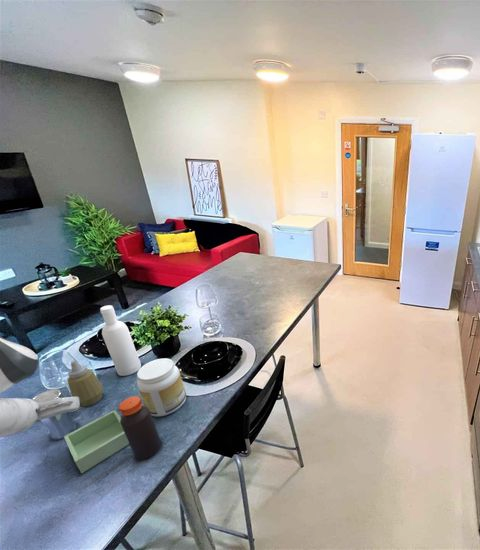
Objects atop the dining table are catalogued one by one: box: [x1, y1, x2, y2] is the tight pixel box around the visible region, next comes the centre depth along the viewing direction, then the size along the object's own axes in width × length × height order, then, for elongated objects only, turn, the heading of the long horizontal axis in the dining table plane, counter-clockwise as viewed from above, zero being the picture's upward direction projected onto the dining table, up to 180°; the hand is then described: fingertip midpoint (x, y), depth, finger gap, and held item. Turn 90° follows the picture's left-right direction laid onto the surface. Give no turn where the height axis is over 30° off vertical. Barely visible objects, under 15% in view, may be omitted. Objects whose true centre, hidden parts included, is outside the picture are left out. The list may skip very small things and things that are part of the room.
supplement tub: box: [136, 357, 187, 417], centre depth 102 cm, size 12×12×17 cm
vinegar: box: [118, 395, 162, 461], centre depth 86 cm, size 7×7×20 cm
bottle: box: [99, 304, 142, 377], centre depth 114 cm, size 8×8×30 cm
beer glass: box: [31, 389, 78, 441], centre depth 91 cm, size 7×7×15 cm
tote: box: [63, 409, 130, 474], centre depth 90 cm, size 13×13×5 cm
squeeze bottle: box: [67, 360, 104, 407], centre depth 102 cm, size 8×8×18 cm
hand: (43, 415), depth 85 cm, fingers open, 8 cm apart
